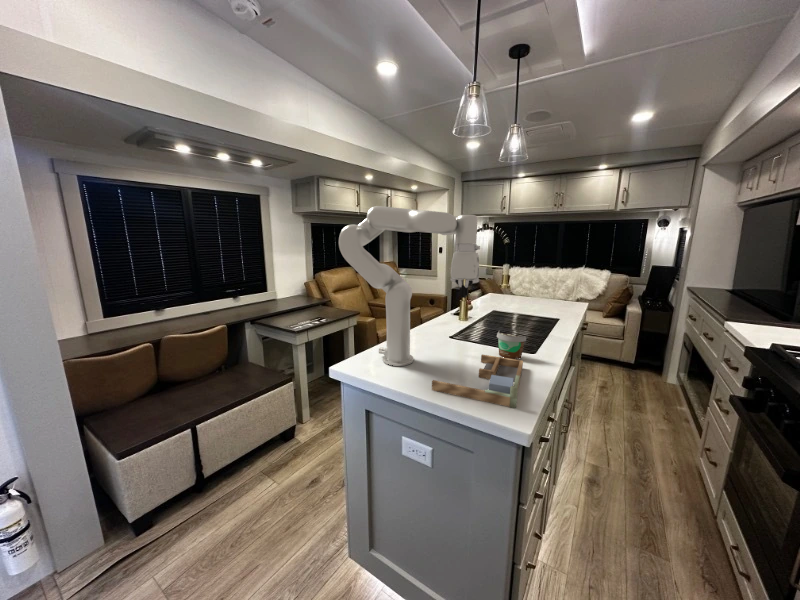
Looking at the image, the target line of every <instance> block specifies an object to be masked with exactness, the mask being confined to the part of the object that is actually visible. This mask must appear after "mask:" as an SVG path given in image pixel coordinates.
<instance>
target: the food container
mask: <svg viewBox="0 0 800 600" xmlns="http://www.w3.org/2000/svg"><path fill="white" fill-rule="evenodd" d="M496 338H497V339H498V355H499V357H502V358H503V357H504V358H509V359H515V360H520V359H522V355H523V352H524V345H525V342H526V341H527V337H526V335H524V336H518V335H516V334H512V333H503V332H501V331H500V330H498V332H497V333H496ZM519 358H520V359H519Z"/></svg>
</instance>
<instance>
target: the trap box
mask: <svg viewBox="0 0 800 600" xmlns="http://www.w3.org/2000/svg"><path fill="white" fill-rule="evenodd" d="M480 362H481V363H484V364H485V365H484V367H483V368H481V367H480V368H479V369H478V378H482V379H486V380H490V378H491V375H496V376H502V377H509V378H513V386H511V387H510V394H507V393H502V392H497V391H492V390H489V389H480V388H474V387H471V386H466V385H462V384H461V385H460V384H454V383H450V382H446V381H440V380H435V379H432V380H431V391H436V392H439V391H440V393H444V392H445V394H448V393H449V394H450V395H453V396H459V397H463V398H467V399H472V400H477V401H482V402H487V403H491V404H495V405H500V406H505V407H509V408H510V409H516V408H517V403H518V401H517V399H518V393H519V387H520V383H521V377H522V372H523V366H524V360H520V359H509V358H503V357H501V356H494V355H488V354H481V356H480Z"/></svg>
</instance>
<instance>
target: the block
mask: <svg viewBox="0 0 800 600" xmlns="http://www.w3.org/2000/svg"><path fill="white" fill-rule="evenodd" d="M511 386H514V382H513V378H509V377H502V376H496V375H491V378H490V379H489V381H488V390H492V391H497V392H502V393H507V394H510V387H511Z"/></svg>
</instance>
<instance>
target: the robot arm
mask: <svg viewBox="0 0 800 600" xmlns="http://www.w3.org/2000/svg"><path fill="white" fill-rule="evenodd" d="M385 231H393V232H394V231H395V232H402V233H416V232H417V233H418V232H419V233H430V234H438V235H442V236H450V235H455V248H454V249H455V250H454V251H455V252H453V255H452V259H451V264H450V279H449V280H450V282H453V283H456V285H457V286H458V287H459V296H460V298H461V299H462V298H463V299H466V298H467V297H468V295H469V287H470V286H471V285H472V284H477V283H479V282H480V279H479V276H480V258H479V252H477V250H480V249H481V246H480V245H477V238H478V237H477V235H478V234H477V233H478V216H477V215H475V214H460V215H458V216H455V215H453V214H452V213H450V212H443V211H435V210H423V209H422V210H421V209H420V210H419V209H414V208H412V209H411V208H402V207H394V206H393V207H392V206H384V205H375V206H372V207H370V208H369V209H368V211H367V214H366V218H365V219H364V220H363V221H362V222H359V224H348V225H346V226H344V227H343V228H342V229H341V231H340V233H339V237H338V248H339V251H340V253H341V255H342V257H343V258H344V260H345V261H346V262H347V263H348V264H349V265H350V266H351V267H352V268H353V269H354V270H355V271H356V272H357V273H358V274H359V275H360V276H361V277H362V278H363V279H364V280H365V281H367V283H368V284H369V285H370V286H371V287H372V288H374V289H377V290H382V291H383V292H385V297H384V298H385V318H386V320H385V321H386V323H385V324H386V347H381V346H380V347H379V348H378V354H380V355H383V356H382V361H383V363H384V364H385V365H388V364H389V366H392V365H393V366H392V367H404V366H408V365H411V364H412V363H414V359H415V358H414V356H413V355H411V299H412V296H413V291H412V287H411V285H410V284H409V283H408V282H407V281H406V280H405V279H404V278H403V277H402V276H401V275H399V273H398V272H396V271H395V269H394V268H393V267H392V266H390V265H388V264H385V263H380V262H379V261H378V260H377V259H376V258H375V257H374V256H373V255H372V254H371V253H370V252H368V251H367V250H366V249H365V247H364V246H366V245H367V244H369V243H371V242H372V241H373V240H375V239H376V238H377V237H378V236H380V235H381V234H382V233H383V232H385ZM464 280H465V282H464Z"/></svg>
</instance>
